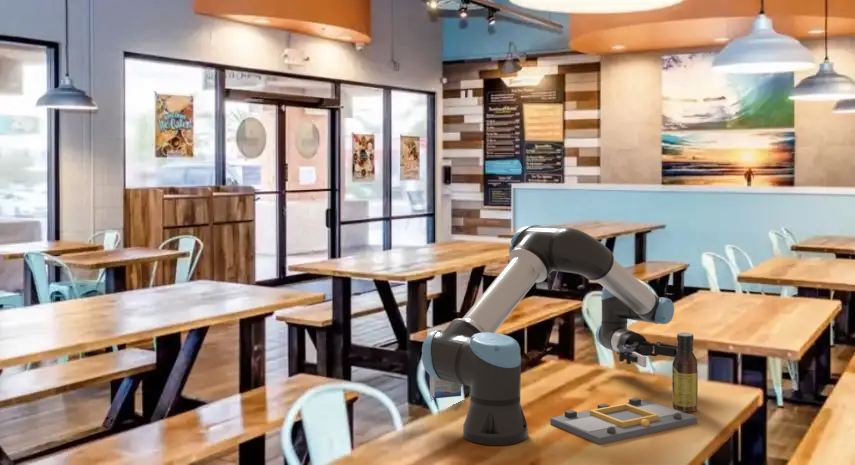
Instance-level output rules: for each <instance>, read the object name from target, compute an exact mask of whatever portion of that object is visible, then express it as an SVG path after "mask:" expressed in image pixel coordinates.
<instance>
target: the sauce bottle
mask: <svg viewBox="0 0 855 465" xmlns="http://www.w3.org/2000/svg"><path fill="white" fill-rule="evenodd" d="M676 340H677V346H678V348H677V353H676V356H675V357H673V358H674V359H673V361H672V364H671V365H672V366H671V368H672V369H671V370H672V371H671V372H672V374H671V376H672V377H671V378H672V379H671V393H672V394H671V395H672V396H671V399H672V401H671V402H672V407H673V408H672V409H675V410H678V411H681V412H684V413H687V414H689V413H692V412H696V411H697V410H698V399H699V398H698V397H699V396H698V394H699V392H698V390H699V388H698V386H699V385H698V384H699V382H698V380H699V378H698V377H699V376H698V375H699V374H698V372H699V370H698V359H697V357H696V356H695V353H694V352H693V351H694V347H693V346H694V344H693V343H694V333H692V332H691V333H690V332H678V333H677V334H676Z"/></svg>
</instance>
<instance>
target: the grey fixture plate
mask: <svg viewBox="0 0 855 465" xmlns="http://www.w3.org/2000/svg"><path fill="white" fill-rule="evenodd" d="M549 422H550V423H549V424H550V425H552V426H554V427H557V428H560V430H561V429H562V430H564V431H566V432H569V433H571V434H574V435H576V436H578V437H581V438H583V439H585V440H588V441H590V442H593V443H595V444H598V445H603V444H608V443H613V442H616V441H621V440H626V439H631V438H635V437H640V436H644V435H649V434H653V433H658V432H662V431H667V430H671V429H676V428H680V427H684V426H690V425H695V424H698V416H696V415H692V414H689V413H687V412H681V411H678V410H675V409H674V408H671V407H669V406H666V405H662V404H659V403H657V402H654V401H651V400H648V399H641V398H639V397H633V398H629V399H628V402H624V403H620V404H619V403H618V404H616V405H615V404H614V405H609V404H606V403H601V404H597V408H594V409H588V410H585V411H584V410H583V411H579V412H578V411H576V410H573V409H571V410H566V411H565V410H564V414H562V415H558V416H554V417H550V418H549Z"/></svg>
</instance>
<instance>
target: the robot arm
mask: <svg viewBox="0 0 855 465" xmlns="http://www.w3.org/2000/svg"><path fill="white" fill-rule="evenodd" d="M510 243H511V245H509V247H508V249H509V250H508V251H509V252H508V253H509V256H508V260H509V261H508V263H507V265H506V266H505V267H504V268H503V270H502V271H501V272H500V273H499V274H498V275H497V277H496V278H494V280H493V281H492V282H491V284H490V285H489V286H488V287H487V288H486V290H485V291H484V292H483V293H482V294H481V296H479V297H478V299H477V300H476V302H475V303H474V304H473V305H472V306H471V308H470V309H469V310H468V311H467V312H466V313H465V315H464V316H463V317H462V318H455V319H453V320H452V321H451V322H450V323H449V324H448V325H447V326H446V328H445V329H444V330H442V329H437V330H432V331H431V332H430V333H429V334H427V335H426V338H425V339H424V341H423V343H422V347H421V361H422V362H421V363H422V366H423V368H424V370H425V372H426V373H427V374H428V375H429V376H430V375H431V376H432V377H435V378H438V379H440V380H442V381H450V382H454V383H458V384H461V386H467V387H469V386H470V387H471V396H470V402H469V407H468V409H467V412H466V416H465V421H464V423H463V428H462V431H463V433H462V434H463V435H462V436H463V438H465V439H466V440H467V441H470V442H472V443H475V444H480V445H486V446H509V445H515V444H519V443H522V442H524V441H526V440H527V438H529V427H528V423H527V420H526V418H525V417H526V416H525V414H524V411H523V407H522V405H521V387H522V386H521V383H522V382H521V380H522V379H521V378H522V376H521V374H522V372H521V371H522V369H521V368H522V356H521V346H520V344H519V342H518V341H517V340H516V339H514V338H513V337H512V336H509V335H506V334H502V333H496V332H497V331H498V330H499V328H500V327H501V326H502V325H503V323H504V322H505V321H506V320H507V318H509V316H510V314H512V312H513V311H514V310H515V308H516V307H517V306H518V305H519V303H520V302H521V301H522V300H523V299H524V297H525V296H526V294H527V293H528V292H530V290H531V289H532V287H533V286H534V285H535V283H536V284H537V283H543V282H544V281H545V280H546V279H547V278H548V277H549V275H551V273H552V272H563V273H571V274H576V275H581V276H583V277H584V278H585V279H587V280H589V281H593V282H594V281H596V282H597V283H598V284H599V285H601V286H602V292H601V293H602V294H601V300H600V301H601V322H600V324H599V325H598V327H597V329H596V331H595V338H596V340H597V343H599V344H600V345H601V346H602V347H604V348H605V349H607V350H610V351H613V352H614V353H616V355H618V361H619V362H624V361H625V360H626V363H625V364H626V365H631V363H632V364H635V365H637V366H639V367H642V368H647V357H648V356H650V357H657V356H662V357H671V358H675V356H676V353H677V348H678V345H675V344H674V345H673V344H669V343H664V342H661V341H656V342H655V343H654V342H649V341H647V339H646V337H644V335H642V334H641V333H638V332H635V331H634V330H632V329H631V330H630V329H628V320H632V321H638V322H645V323H651V324H655V325H658V324H659V325H668V324H669V323H670V322H672V319H673V318H674V314H675V305H674V303H673V301H672V299H670V298H667V297H664V296H663V297H660V296H657V294H654V292H653V291H651V290H650V289H649V288H648V287H647V286H645V285H644V284H643V283H642V282H641V281H640V280H638V278H636V277H635V276H634V275H633V274H632V273H631V272H630V271H628V270H627V269H626V268H625V267H624V266H622V264H620V263H619V262H618V261H617V260H616V259H615V256H614V253H613V252H612V251H611V250H610V249H609V248H608V247H607V246H605V244H604V243H602V242H600V241H599V240H597V239H596V238H594V237H593V236H592V235H590V234H588V233H587V232H584V231H582V230H579V229H577V228H572V227H560V226H559V227H558V226H548V225H547V226H545V225H538V224H537V225H536V224H535V225H525V226H523V227H520V228H519V229H518V230H517V231H516V232H515V233H514V234H513V235H512V238H511V239H510ZM653 352H654V353H653Z"/></svg>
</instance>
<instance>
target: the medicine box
mask: <svg viewBox="0 0 855 465" xmlns="http://www.w3.org/2000/svg"><path fill="white" fill-rule="evenodd" d="M429 394H430V396H431V397H432V398H434V399H444V398H445V399H446V398H454V397H455V398H456V397H462V384H458V383H454V382H450V381H442V380H440V379H438V378H435V377H432V376H431V375H429Z"/></svg>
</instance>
